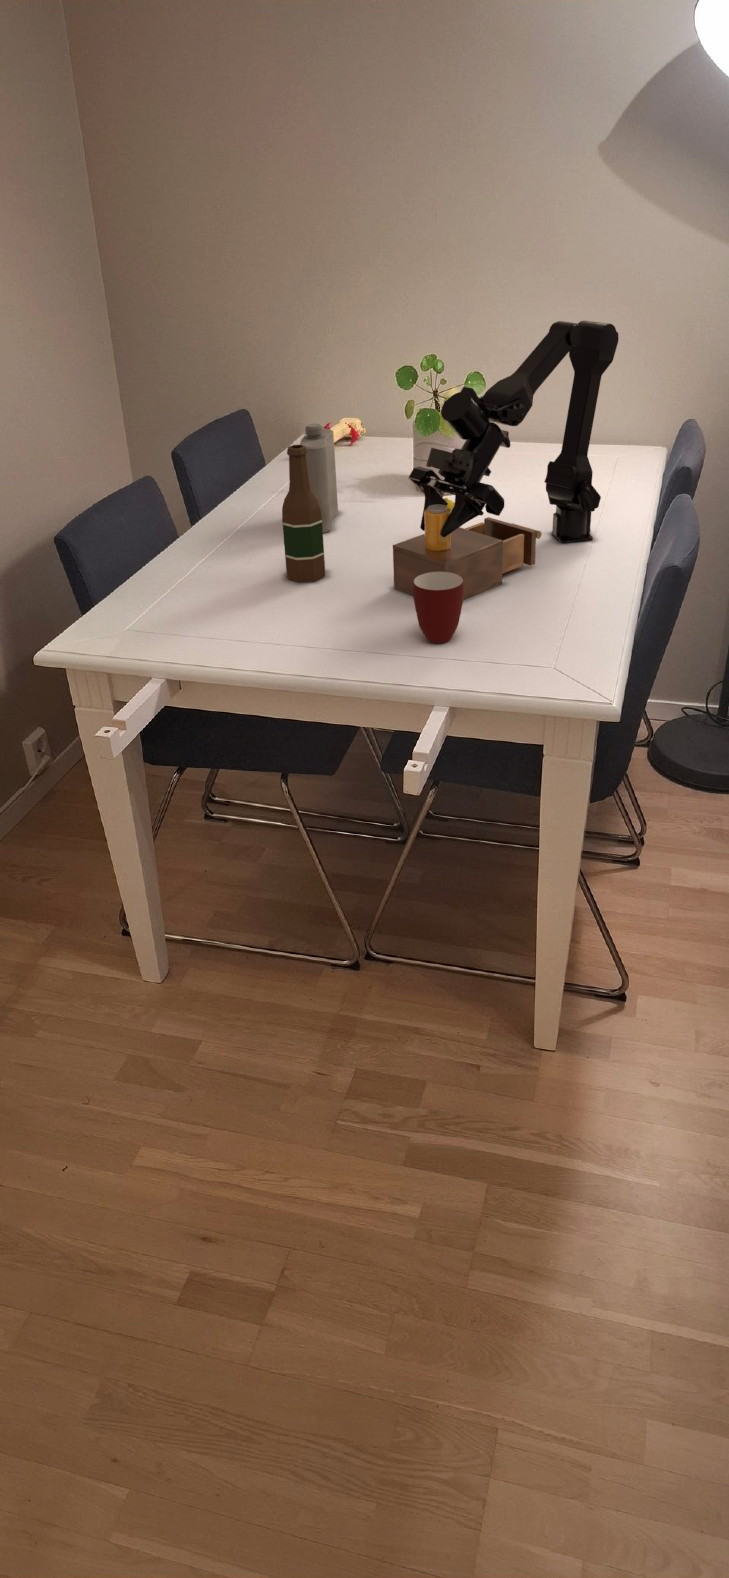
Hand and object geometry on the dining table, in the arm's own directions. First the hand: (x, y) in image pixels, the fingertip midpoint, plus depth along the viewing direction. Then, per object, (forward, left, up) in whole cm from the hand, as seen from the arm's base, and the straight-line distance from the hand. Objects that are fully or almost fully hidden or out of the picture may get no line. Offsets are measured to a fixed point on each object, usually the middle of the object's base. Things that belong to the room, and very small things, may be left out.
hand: (432, 532), depth 190 cm
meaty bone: (+2, -103, -11) cm, 103 cm away
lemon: (-9, -28, -11) cm, 31 cm away
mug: (+3, +18, -11) cm, 22 cm away
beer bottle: (+21, -15, -11) cm, 28 cm away
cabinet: (-3, -2, -11) cm, 12 cm away
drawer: (-14, -9, -10) cm, 19 cm away
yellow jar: (-1, -1, -3) cm, 3 cm away
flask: (+14, -45, -11) cm, 48 cm away
